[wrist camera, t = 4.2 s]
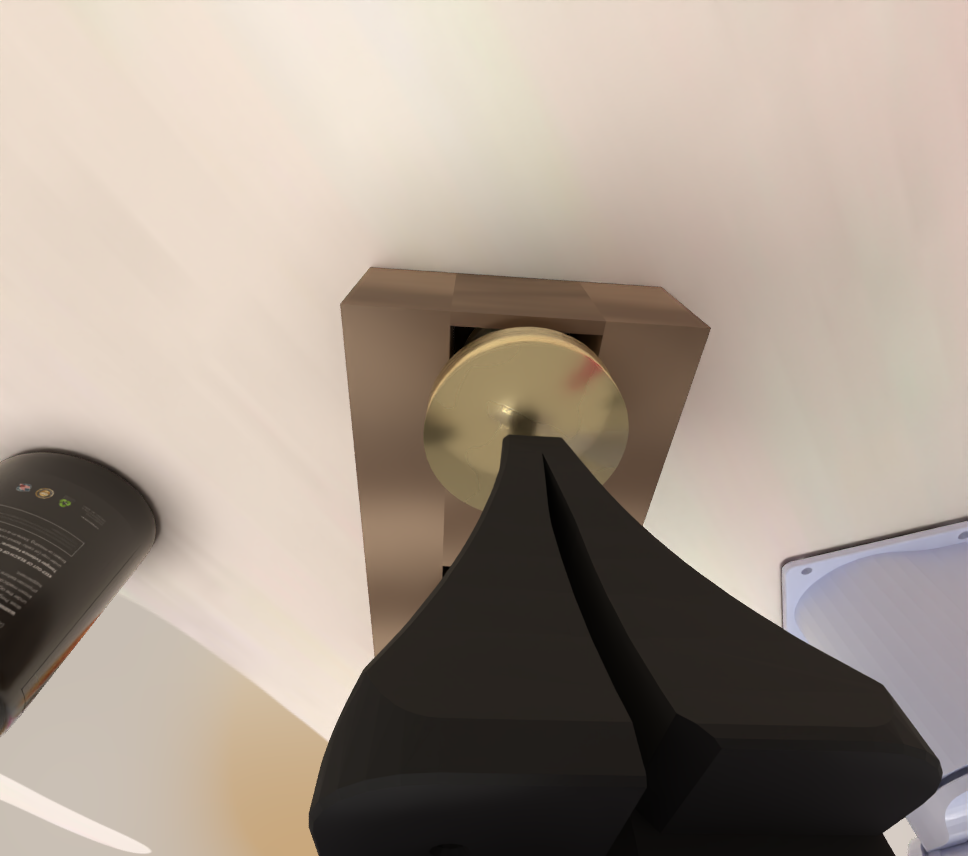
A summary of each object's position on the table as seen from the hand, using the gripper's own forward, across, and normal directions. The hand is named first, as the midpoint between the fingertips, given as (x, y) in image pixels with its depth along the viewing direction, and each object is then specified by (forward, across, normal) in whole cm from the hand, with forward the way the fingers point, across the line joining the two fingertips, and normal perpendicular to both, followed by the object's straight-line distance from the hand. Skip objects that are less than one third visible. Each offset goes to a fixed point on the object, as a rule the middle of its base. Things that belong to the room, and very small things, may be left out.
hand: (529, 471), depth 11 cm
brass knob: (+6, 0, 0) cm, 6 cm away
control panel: (+8, 0, +10) cm, 12 cm away
